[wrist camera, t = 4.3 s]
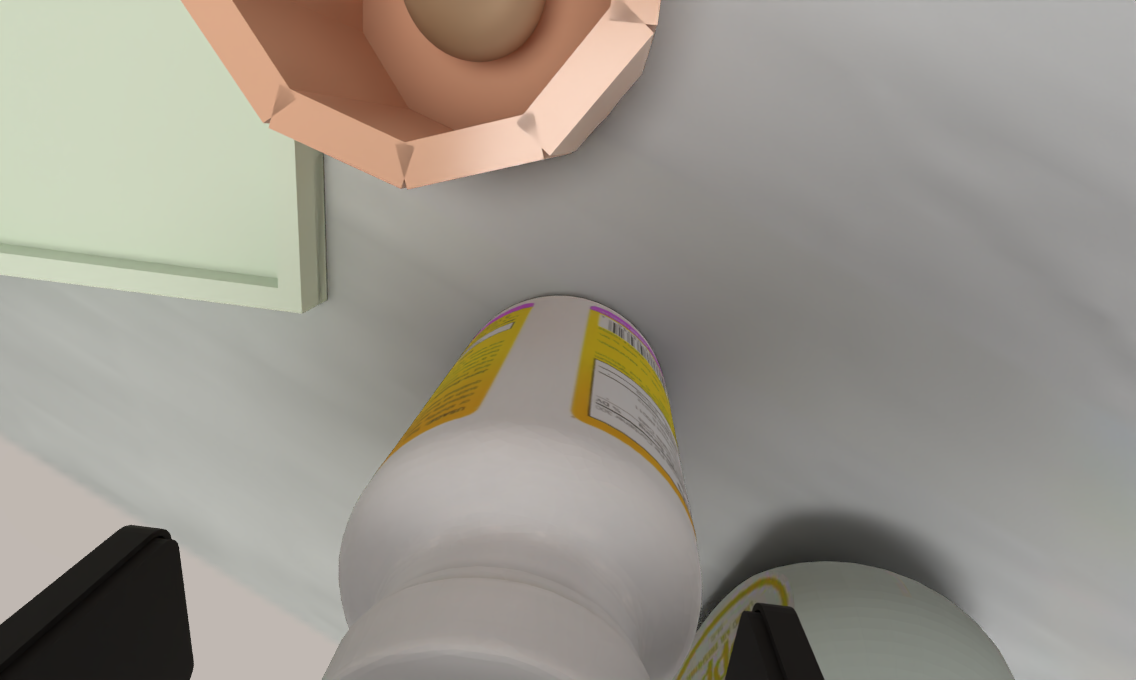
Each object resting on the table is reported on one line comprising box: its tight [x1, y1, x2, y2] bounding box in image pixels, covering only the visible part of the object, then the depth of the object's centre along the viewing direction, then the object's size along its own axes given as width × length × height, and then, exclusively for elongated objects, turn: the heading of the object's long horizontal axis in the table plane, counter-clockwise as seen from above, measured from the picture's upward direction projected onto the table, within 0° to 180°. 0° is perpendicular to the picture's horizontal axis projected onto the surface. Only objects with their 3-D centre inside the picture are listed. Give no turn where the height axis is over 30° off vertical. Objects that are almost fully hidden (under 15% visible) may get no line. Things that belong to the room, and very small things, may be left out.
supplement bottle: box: [322, 296, 702, 680], centre depth 13 cm, size 7×7×13 cm
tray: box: [0, 0, 327, 313], centre depth 17 cm, size 12×12×2 cm
